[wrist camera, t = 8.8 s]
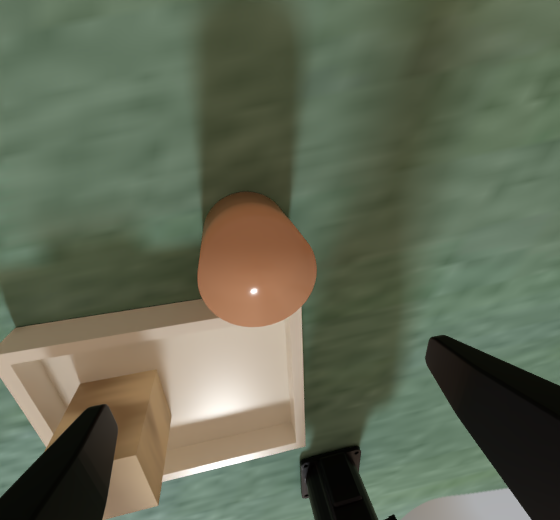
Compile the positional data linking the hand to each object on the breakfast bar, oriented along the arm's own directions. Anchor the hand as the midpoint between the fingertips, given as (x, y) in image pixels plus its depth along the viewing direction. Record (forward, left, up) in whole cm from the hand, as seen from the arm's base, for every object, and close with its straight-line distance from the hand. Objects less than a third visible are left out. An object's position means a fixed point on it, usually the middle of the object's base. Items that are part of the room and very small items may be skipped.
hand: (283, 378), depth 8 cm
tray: (-11, +6, -12) cm, 17 cm away
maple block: (-11, +10, -11) cm, 19 cm away
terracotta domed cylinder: (0, 0, -12) cm, 12 cm away
